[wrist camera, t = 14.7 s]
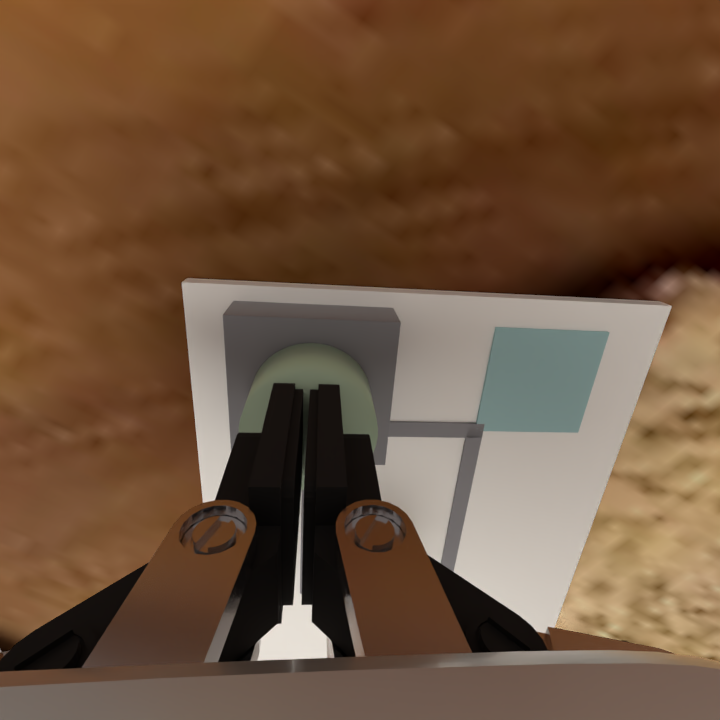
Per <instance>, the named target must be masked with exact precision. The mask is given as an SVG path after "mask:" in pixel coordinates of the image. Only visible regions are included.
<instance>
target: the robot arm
mask: <svg viewBox="0 0 720 720" xmlns="http://www.w3.org/2000/svg"><path fill="white" fill-rule="evenodd" d="M302 444H303V389H295V383H273V387H272V391H271V395H270V399H269V403H268V407H267V412H266V416H265V420H264V424H263V428H262V432H261V433H246V432H239V433H238V434H237V436H236V439H235V442H234V445H233V448H232V451H231V454H230V457H229V459H228V462H227V465H226V468H225V471H224V474H223V477H222V480H221V483H220V486H219V489H218V492H217V495H216V498H215V500H214V501H209V502H205V503H202V504H200V505H197V506H195V507H192V508H191V509H189V510H188V511H187V512H185V513H184V514H182V515H181V516H180V517H179V518H178V520H177V521H176V522H175V523H174V524H173V526H172V527H171V529H170V530H169V532H168V534H167V535H166V537H165V538H164V540H163V541H162V543H161V545H160V546H159V548H158V549H157V551H156V552H155V554H154V555H153V557H152V559H151V560H150V562H149V563H147V564H145V565H144V566H142V567H140V568H139V569H137V570H135V571H134V572H132V573H130V574H129V575H127V576H125V577H124V578H122V579H120V580H118V581H117V582H115V583H113V584H112V585H110V586H108V587H107V588H105V589H103V590H102V591H100V592H98V593H97V594H95V595H93V596H92V597H90V598H88V599H87V600H85V601H83V602H82V603H80V604H78V605H77V606H75V607H73V608H72V609H70V610H68V611H67V612H65V613H63V614H62V615H60V616H58V617H56V618H55V619H53V620H51V621H50V622H48V623H46V624H45V625H43V626H41V627H40V628H38V629H36V630H35V631H33V632H32V633H31V634H29V635H28V636H26V637H25V638H24V639H22V640H21V641H19V642H18V643H17V644H16V645H15V646H14V647H13V648H12V649H11V650H9V651H5V652H1V650H0V720H720V661H716V660H711V659H706V658H702V657H696V656H687V655H678V654H674V653H671V652H668V651H665V650H662V649H659V648H655V647H649V646H644V645H639V644H634V643H629V642H624V641H619V640H614V639H609V638H603V637H598V636H593V635H588V634H583V633H578V632H573V631H568V630H563V629H557V628H552V627H547V630H546V633H541V632H536V630H535V629H534V628H533V627H532V626H531V625H530V624H529V623H528V622H527V621H525V620H524V619H523V618H522V617H520V616H519V615H518V614H516V613H515V612H513V611H512V610H510V609H509V608H507V607H506V606H504V605H503V604H501V603H500V602H498V601H497V600H495V599H494V598H492V597H491V596H489V595H488V594H486V593H485V592H483V591H482V590H480V589H479V588H477V587H476V586H474V585H473V584H471V583H470V582H468V581H467V580H465V579H464V578H462V577H461V576H459V575H458V574H456V573H454V572H453V571H451V570H450V569H448V568H447V567H445V566H444V565H442V564H441V563H439V562H438V561H436V560H435V559H433V558H432V557H430V556H429V555H427V553H426V551H425V548H424V546H423V544H422V542H421V540H420V537H419V535H418V533H417V531H416V529H415V527H414V524H413V522H412V521H411V519H410V518H409V516H408V515H407V514H406V513H405V512H404V511H403V510H401V509H400V508H399V507H397V506H395V505H393V504H391V503H389V502H385V501H382V500H381V495H380V489H379V483H378V478H377V472H376V467H375V461H374V456H373V450H372V445H371V439H370V435H369V434H343V423H342V410H341V398H340V385H337V384H319V385H318V390H317V389H310V397H309V413H308V429H307V445H306V461H305V477H304V503H303V553H302V605H312V623H313V624H314V625H316V626H317V627H318V628H319V629H320V630H321V631H322V632H323V633H324V634H325V635H326V636H327V637H328V638H329V655H330V658H311V659H285V660H260V661H257V660H258V656H259V652H260V644H261V638H262V637H263V636H264V635H265V634H267V633H268V632H269V631H270V630H271V629H272V628H273V627H274V626H275V625H277V624H281V622H282V612H283V606H284V605H293V600H294V586H295V572H296V558H297V544H298V529H299V515H300V501H301V486H302Z"/></svg>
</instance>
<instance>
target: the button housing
mask: <svg viewBox="0 0 720 720" xmlns="http://www.w3.org/2000/svg"><path fill="white" fill-rule="evenodd" d="M400 325H401V322H400V320H399V318H398V316H397V314H396V312H395V310H394V309H393V308H387V307H364V306H342V305H319V304H297V303H275V302H252V301H233V302H232V303H231V305H230V306H229V307H228V309H227V310H226V311H225V313H224V314H223V328H224V344H225V361H226V377H227V394H228V410H229V427H230V443H231V451H232V448H233V445H234V442H235V439H236V436H237V434H238V433H239V422H240V418H241V415H242V412H243V409H244V406H245V403H246V400H247V398H248V395H249V392H250V389H251V386H252V383H253V381H254V378H255V375H256V374H257V372H258V370H259V368H260V367H261V366H262V364H263V363H264V362H265V361H266V360H267V359H268V358H269V357H271V356H272V355H273V354H275V353H276V352H278V351H280V350H282V349H284V348H286V347H289V346H293V345H296V344H303V343H318V344H324V345H329V346H332V347H335V348H337V349H339V350H341V351H343V352H345V353H346V354H348V355H349V356H351V357H352V358H353V359H354V360H355V361H356V362H357V363H358V364H359V365H360V367H361V368H362V370H363V371H364V373H365V375H366V377H367V379H368V383H369V386H370V391H371V395H372V400H373V405H374V409H375V414H376V418H377V425H378V438H377V444H376V447H375V450H374V452H373V456H374V461H375V465H385V461H386V452H387V443H388V434H389V425H390V416H391V407H392V398H393V389H394V380H395V371H396V362H397V353H398V343H399V334H400Z"/></svg>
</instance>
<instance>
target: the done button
mask: <svg viewBox="0 0 720 720" xmlns="http://www.w3.org/2000/svg"><path fill="white" fill-rule="evenodd" d="M273 383H295V389H303V444H302V486H301V490H304V477H305V461H306V445H307V429H308V413H309V397H310V389H317V390H318V385H319V384H337V385H340V398H341V410H342V423H343V434H369V435H370V439H371V445H372V450H373V452H374V450H375V447H376V444H377V438H378V425H377V418H376V414H375V409H374V405H373V400H372V395H371V391H370V386H369V383H368V379H367V377H366V375H365V373H364V371H363V370H362V368H361V367H360V365H359V364H358V363H357V362H356V361H355V360H354V359H353V358H352V357H351V356H349V355H348V354H346V353H345V352H343V351H341V350H339V349H337V348H335V347H332V346H329V345H324V344H318V343H303V344H296V345H293V346H289V347H286V348H284V349H282V350H280V351H278V352H276V353H275V354H273V355H272V356H271V357H269V358H268V359H267V360H266V361H265V362H264V363H263V364H262V366H261V367H260V368H259V370H258V372H257V374H256V375H255V378H254V381H253V383H252V386H251V389H250V392H249V395H248V398H247V400H246V403H245V406H244V409H243V412H242V415H241V418H240V422H239V432H246V433H261V432H262V428H263V424H264V420H265V416H266V412H267V407H268V403H269V399H270V395H271V391H272V387H273Z"/></svg>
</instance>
